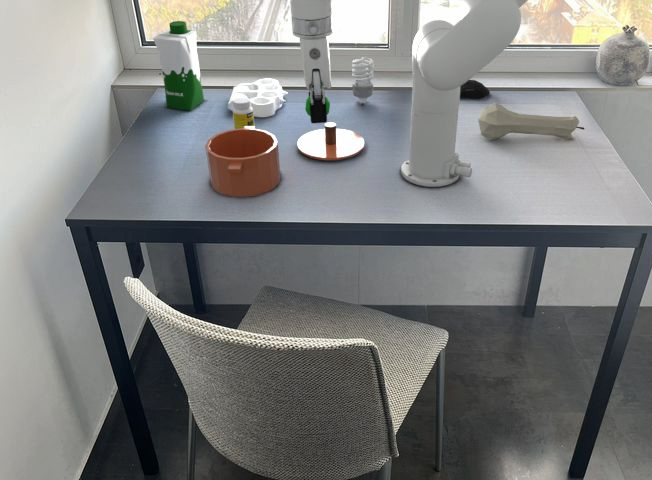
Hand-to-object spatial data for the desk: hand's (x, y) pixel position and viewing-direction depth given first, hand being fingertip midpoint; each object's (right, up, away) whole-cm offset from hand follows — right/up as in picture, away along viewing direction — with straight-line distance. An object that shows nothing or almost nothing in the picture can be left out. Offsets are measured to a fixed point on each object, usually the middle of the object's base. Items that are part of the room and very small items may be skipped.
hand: (318, 115), depth 137 cm
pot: (-16, -12, +7) cm, 21 cm away
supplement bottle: (-19, +1, +26) cm, 32 cm away
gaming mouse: (+36, +16, +45) cm, 60 cm away
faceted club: (+48, -1, +23) cm, 53 cm away
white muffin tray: (-18, +12, +40) cm, 46 cm away
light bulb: (+9, +12, +40) cm, 43 cm away
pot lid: (+2, -2, +19) cm, 19 cm away
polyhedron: (0, -1, 0) cm, 1 cm away
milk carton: (-37, +12, +40) cm, 56 cm away
